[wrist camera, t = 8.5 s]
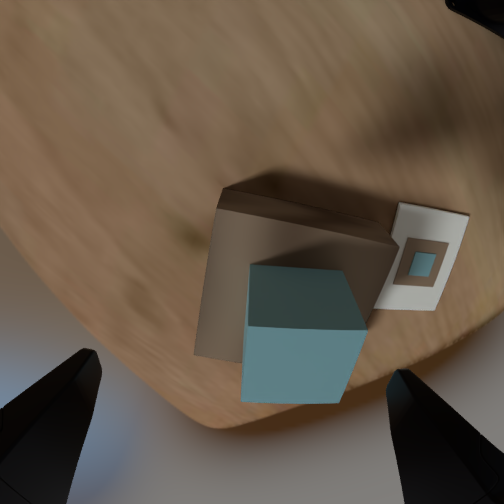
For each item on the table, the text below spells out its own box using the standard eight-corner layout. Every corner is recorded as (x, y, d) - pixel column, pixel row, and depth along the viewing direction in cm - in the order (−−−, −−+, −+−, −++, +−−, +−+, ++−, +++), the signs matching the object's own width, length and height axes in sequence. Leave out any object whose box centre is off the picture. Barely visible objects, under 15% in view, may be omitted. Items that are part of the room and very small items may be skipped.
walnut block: (376, 220, 20) (400, 247, 17) (329, 337, 25) (339, 374, 21) (223, 186, 19) (216, 208, 16) (201, 317, 24) (193, 355, 20)
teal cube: (342, 270, 17) (367, 330, 13) (324, 339, 19) (338, 402, 15) (249, 264, 17) (247, 326, 13) (243, 336, 19) (240, 401, 15)
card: (467, 215, 19) (470, 217, 19) (432, 308, 23) (435, 312, 22) (398, 201, 19) (402, 204, 19) (368, 305, 23) (370, 309, 22)
